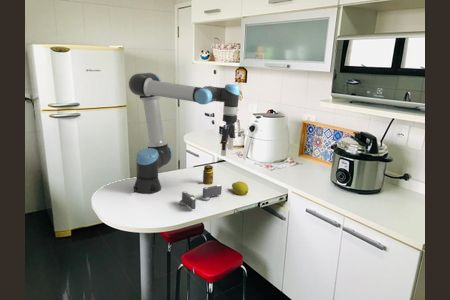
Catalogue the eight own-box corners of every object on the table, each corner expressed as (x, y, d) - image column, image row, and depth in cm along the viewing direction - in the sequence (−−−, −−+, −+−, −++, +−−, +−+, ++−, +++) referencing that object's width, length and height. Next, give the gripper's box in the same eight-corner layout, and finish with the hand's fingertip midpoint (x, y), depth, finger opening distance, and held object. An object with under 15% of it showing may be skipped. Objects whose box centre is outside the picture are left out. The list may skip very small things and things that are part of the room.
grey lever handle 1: (178, 202, 167) (178, 191, 165) (186, 201, 170) (186, 189, 168) (189, 212, 158) (189, 200, 156) (197, 210, 160) (198, 198, 158)
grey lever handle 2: (203, 201, 170) (204, 190, 168) (199, 198, 174) (199, 187, 172) (222, 197, 177) (223, 186, 175) (217, 194, 181) (218, 183, 179)
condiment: (215, 186, 196) (216, 167, 193) (203, 188, 191) (204, 169, 188) (209, 182, 202) (210, 163, 198) (197, 184, 197) (198, 165, 194)
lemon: (251, 196, 184) (252, 183, 181) (240, 199, 179) (241, 186, 177) (238, 190, 192) (239, 177, 189) (228, 193, 187) (229, 180, 185)
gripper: (230, 118, 159) (227, 159, 165) (242, 111, 182) (239, 148, 188) (216, 116, 161) (213, 157, 166) (229, 110, 184) (226, 146, 190)
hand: (227, 152), depth 177 cm, fingers open, 13 cm apart
